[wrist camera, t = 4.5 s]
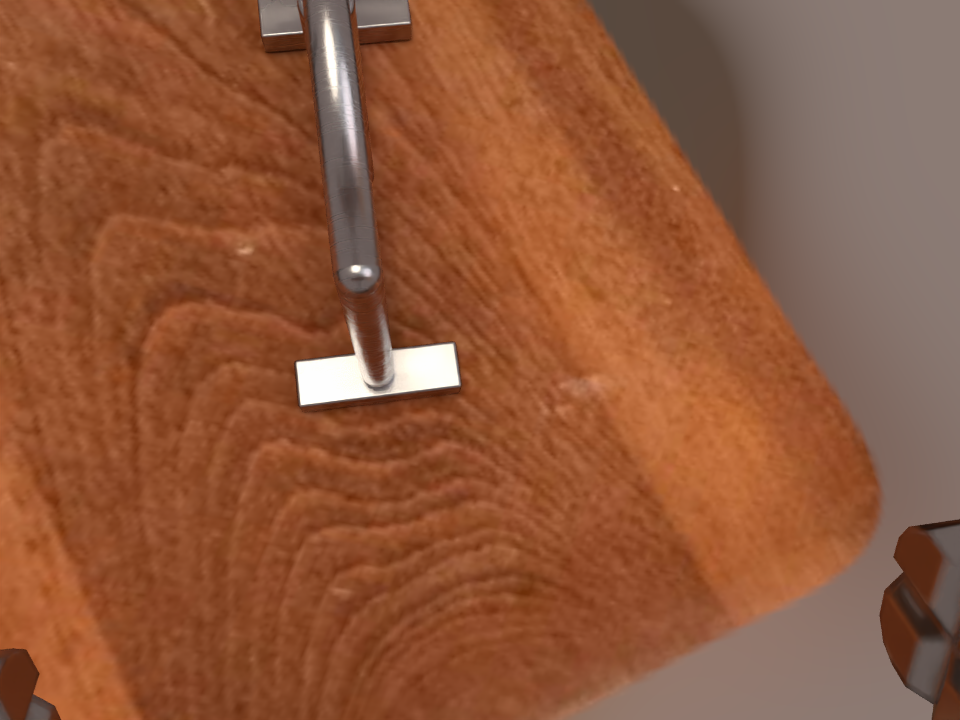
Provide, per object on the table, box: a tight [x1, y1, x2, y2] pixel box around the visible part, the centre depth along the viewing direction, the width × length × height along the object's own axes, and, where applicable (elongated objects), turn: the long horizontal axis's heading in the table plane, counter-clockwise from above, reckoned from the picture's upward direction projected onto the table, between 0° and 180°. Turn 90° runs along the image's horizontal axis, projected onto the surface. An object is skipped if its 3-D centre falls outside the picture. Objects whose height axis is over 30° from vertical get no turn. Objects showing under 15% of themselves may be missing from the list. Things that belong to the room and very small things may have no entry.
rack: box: [257, 0, 462, 412], centre depth 20 cm, size 11×4×9 cm, turn 8°
